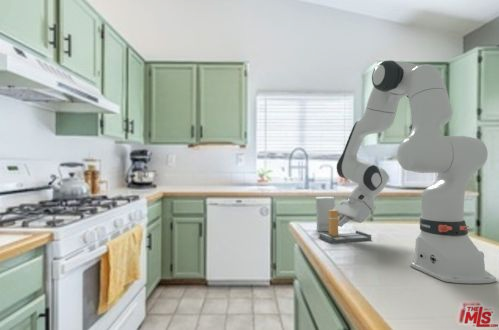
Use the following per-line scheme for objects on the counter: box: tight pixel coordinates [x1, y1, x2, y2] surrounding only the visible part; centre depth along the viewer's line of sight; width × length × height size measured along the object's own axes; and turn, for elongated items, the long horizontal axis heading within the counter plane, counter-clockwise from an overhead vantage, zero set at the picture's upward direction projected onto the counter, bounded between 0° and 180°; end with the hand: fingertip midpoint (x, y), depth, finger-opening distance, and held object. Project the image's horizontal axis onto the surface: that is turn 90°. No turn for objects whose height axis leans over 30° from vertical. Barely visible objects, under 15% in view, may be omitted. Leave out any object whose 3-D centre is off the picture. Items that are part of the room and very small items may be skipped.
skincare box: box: [315, 196, 336, 233], centre depth 163 cm, size 8×7×16 cm
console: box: [319, 230, 372, 244], centre depth 144 cm, size 18×10×2 cm, turn 104°
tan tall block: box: [326, 210, 339, 237], centre depth 142 cm, size 4×4×11 cm
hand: (338, 225), depth 143 cm, fingers closed, pressing on tan tall block
